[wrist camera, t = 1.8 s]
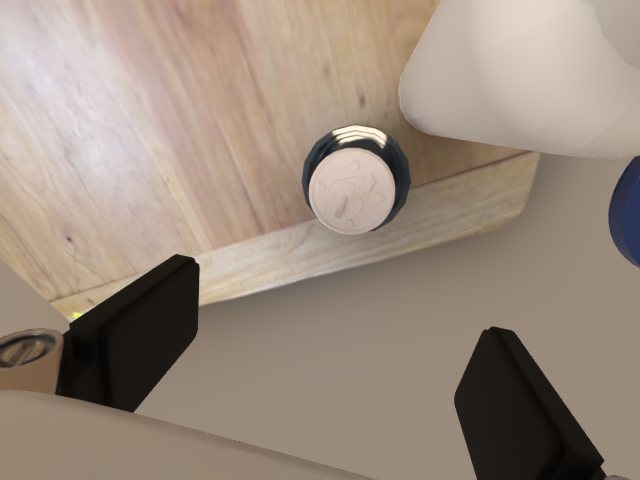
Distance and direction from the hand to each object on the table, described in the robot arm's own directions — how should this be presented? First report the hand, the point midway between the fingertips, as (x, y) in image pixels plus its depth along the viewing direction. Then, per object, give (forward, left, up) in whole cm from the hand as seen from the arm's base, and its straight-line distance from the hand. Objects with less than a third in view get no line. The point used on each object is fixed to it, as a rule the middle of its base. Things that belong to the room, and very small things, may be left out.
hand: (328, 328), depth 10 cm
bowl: (0, -2, -24) cm, 24 cm away
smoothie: (0, -2, -24) cm, 24 cm away
